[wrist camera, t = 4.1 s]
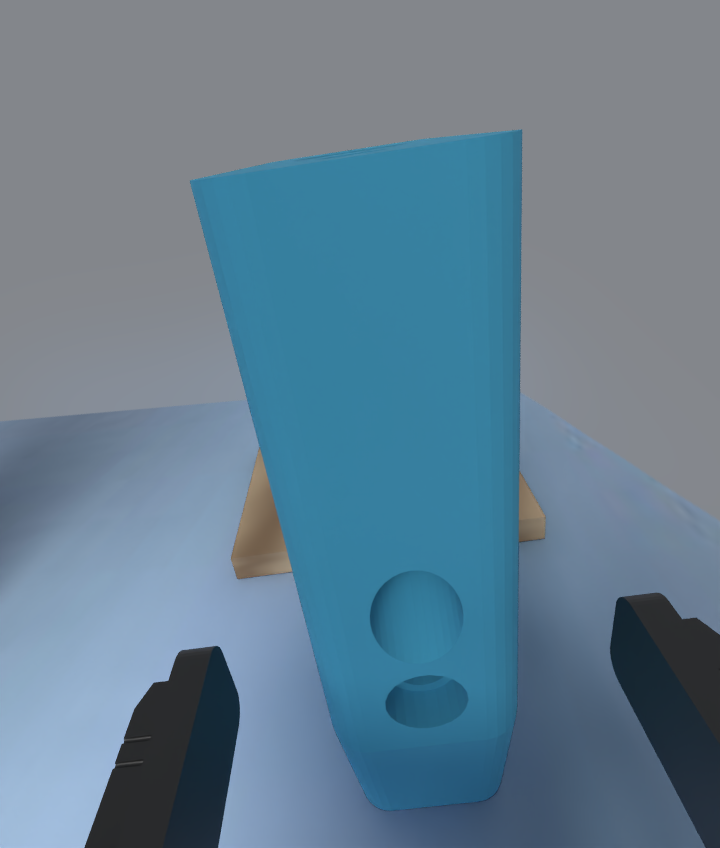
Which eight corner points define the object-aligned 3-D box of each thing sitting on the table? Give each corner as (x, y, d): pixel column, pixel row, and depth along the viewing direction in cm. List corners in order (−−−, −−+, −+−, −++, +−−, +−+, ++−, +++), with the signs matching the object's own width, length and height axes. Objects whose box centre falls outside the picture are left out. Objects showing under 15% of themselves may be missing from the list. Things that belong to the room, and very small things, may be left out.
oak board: (237, 579, 29) (230, 558, 28) (267, 450, 41) (262, 433, 41) (544, 538, 29) (545, 516, 28) (481, 420, 41) (480, 402, 40)
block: (356, 590, 27) (274, 162, 18) (452, 578, 27) (421, 139, 18) (365, 876, 16) (173, 184, 7) (524, 860, 16) (541, 127, 7)
